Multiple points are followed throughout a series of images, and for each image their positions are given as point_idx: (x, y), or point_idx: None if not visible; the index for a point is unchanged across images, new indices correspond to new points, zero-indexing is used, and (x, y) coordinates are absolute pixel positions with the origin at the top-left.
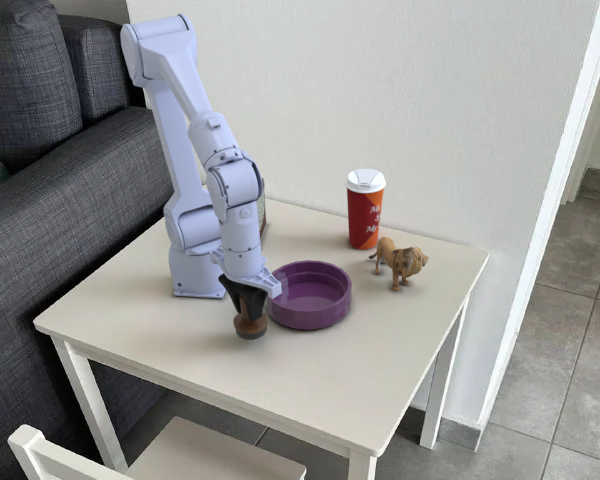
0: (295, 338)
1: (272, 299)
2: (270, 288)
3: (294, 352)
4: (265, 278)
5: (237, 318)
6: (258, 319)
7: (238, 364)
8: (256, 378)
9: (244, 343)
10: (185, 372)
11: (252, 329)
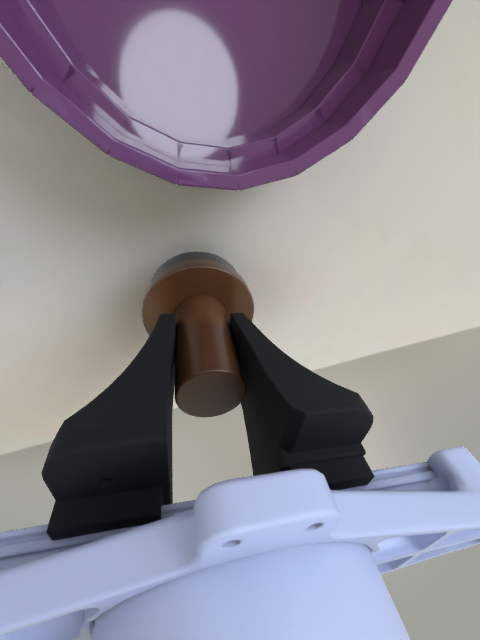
0: (284, 189)
1: (167, 171)
2: (471, 542)
3: (311, 237)
4: (427, 548)
5: None
6: (221, 300)
7: None
8: (283, 340)
9: None
10: None
11: None
